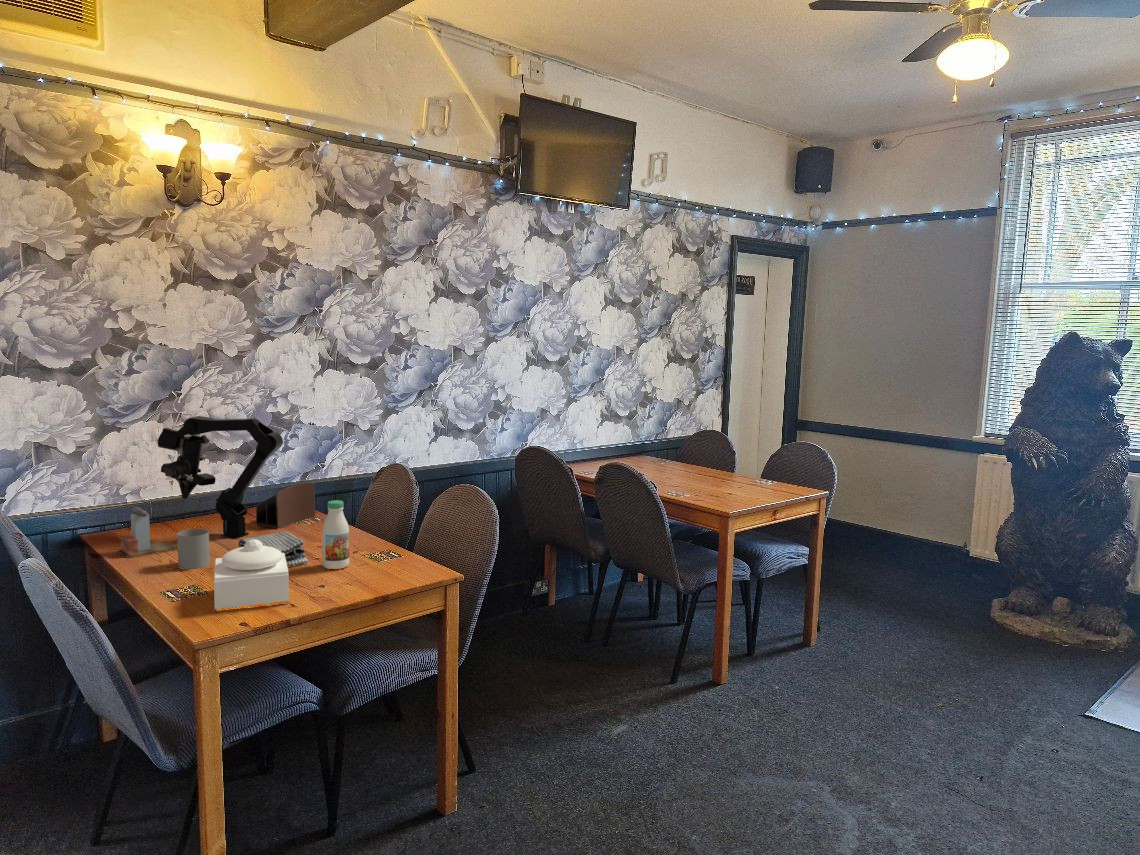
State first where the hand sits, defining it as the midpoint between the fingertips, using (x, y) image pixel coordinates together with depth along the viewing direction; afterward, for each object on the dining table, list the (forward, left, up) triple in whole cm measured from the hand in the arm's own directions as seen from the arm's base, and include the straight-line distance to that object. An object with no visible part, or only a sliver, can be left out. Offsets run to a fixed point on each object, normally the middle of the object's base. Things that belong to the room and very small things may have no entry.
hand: (184, 498), depth 259 cm
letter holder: (-18, -28, -13) cm, 36 cm away
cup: (-27, +24, -13) cm, 39 cm away
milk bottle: (-65, +8, -13) cm, 67 cm away
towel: (-46, +12, -13) cm, 49 cm away
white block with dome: (-61, +39, -13) cm, 73 cm away
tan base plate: (-4, +19, -12) cm, 23 cm away
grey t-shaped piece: (-3, +21, -12) cm, 24 cm away
